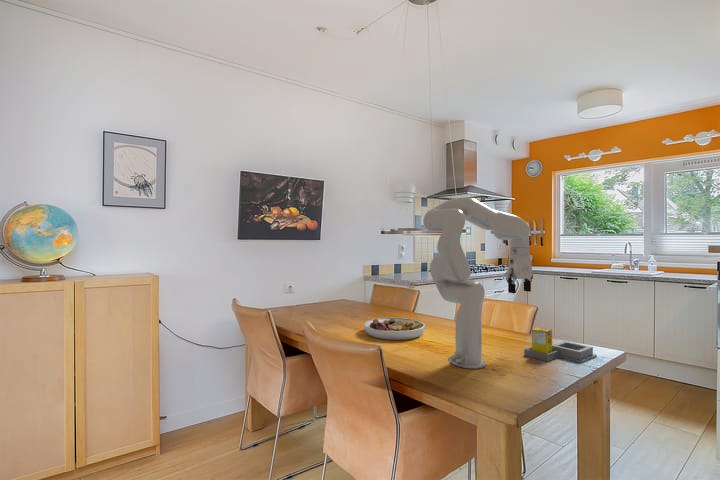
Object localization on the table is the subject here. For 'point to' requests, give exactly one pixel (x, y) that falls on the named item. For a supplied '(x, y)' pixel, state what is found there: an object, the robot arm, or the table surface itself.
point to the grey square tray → (542, 354)
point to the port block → (574, 351)
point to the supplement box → (542, 340)
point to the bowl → (394, 328)
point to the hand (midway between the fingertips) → (519, 292)
